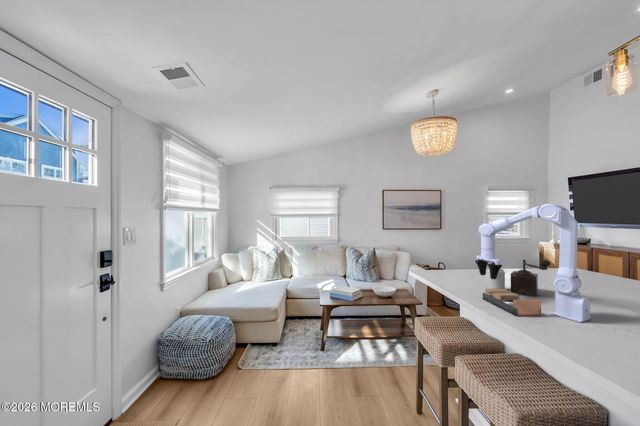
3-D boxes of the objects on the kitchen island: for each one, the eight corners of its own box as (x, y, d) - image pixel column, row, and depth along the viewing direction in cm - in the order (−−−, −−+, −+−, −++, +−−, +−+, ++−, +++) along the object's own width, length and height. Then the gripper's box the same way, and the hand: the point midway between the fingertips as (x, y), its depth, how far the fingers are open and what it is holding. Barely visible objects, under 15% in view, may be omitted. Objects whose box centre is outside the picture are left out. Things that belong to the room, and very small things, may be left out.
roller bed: (482, 299, 122) (482, 286, 122) (503, 298, 122) (503, 286, 122) (516, 316, 102) (516, 300, 102) (541, 315, 102) (541, 300, 102)
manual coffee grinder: (509, 292, 132) (509, 256, 132) (513, 288, 140) (512, 254, 140) (550, 299, 121) (550, 260, 121) (551, 294, 129) (551, 257, 129)
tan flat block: (485, 292, 122) (485, 288, 122) (502, 292, 122) (502, 288, 122) (500, 300, 112) (500, 295, 112) (519, 299, 112) (519, 295, 112)
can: (504, 294, 130) (504, 269, 130) (486, 291, 134) (486, 267, 134) (505, 290, 136) (505, 267, 135) (487, 288, 140) (487, 265, 140)
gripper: (470, 246, 133) (470, 273, 133) (489, 250, 118) (490, 281, 118) (484, 246, 133) (484, 273, 133) (505, 250, 119) (505, 280, 119)
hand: (488, 277), depth 126 cm, fingers open, 7 cm apart
